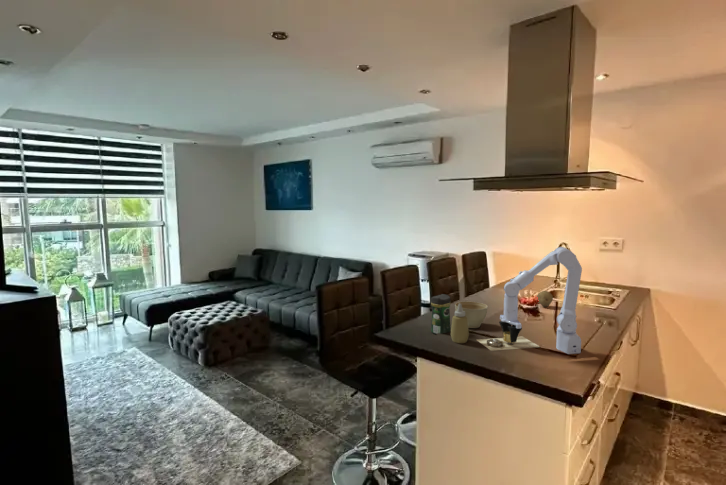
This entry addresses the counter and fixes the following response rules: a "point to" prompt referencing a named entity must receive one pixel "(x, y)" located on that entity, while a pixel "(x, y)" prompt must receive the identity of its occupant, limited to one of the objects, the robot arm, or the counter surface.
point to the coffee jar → (440, 314)
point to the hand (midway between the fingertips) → (509, 339)
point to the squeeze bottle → (459, 326)
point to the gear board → (510, 344)
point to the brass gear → (507, 336)
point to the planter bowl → (473, 312)
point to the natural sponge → (545, 298)
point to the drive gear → (495, 343)
